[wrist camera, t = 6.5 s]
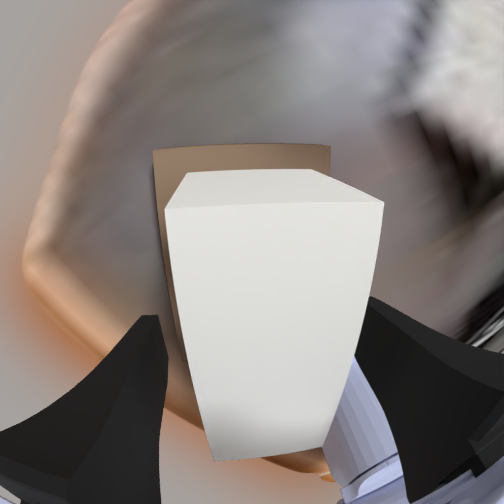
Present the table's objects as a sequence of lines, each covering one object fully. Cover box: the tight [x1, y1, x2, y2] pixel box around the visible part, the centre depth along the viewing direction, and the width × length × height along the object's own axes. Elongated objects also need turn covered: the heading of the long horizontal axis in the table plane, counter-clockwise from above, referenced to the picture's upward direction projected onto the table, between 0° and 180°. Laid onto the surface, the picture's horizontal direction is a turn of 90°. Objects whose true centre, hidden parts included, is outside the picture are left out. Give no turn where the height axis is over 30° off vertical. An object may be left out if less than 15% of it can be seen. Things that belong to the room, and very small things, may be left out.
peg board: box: [153, 143, 331, 361], centre depth 14 cm, size 12×8×4 cm, turn 0°
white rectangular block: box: [164, 169, 384, 461], centre depth 10 cm, size 10×4×5 cm, turn 0°
